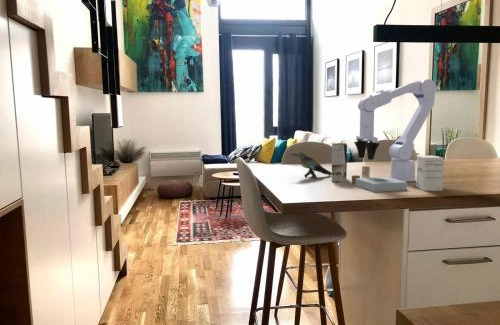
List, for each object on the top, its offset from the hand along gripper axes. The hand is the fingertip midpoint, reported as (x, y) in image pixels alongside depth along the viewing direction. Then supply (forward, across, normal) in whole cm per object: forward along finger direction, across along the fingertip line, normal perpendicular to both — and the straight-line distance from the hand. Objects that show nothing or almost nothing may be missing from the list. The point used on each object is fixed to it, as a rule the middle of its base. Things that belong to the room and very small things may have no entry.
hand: (366, 158), depth 178 cm
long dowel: (+10, 0, 0) cm, 10 cm away
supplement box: (+10, +23, +14) cm, 29 cm away
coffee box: (+10, -7, -9) cm, 15 cm away
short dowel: (+10, +4, -7) cm, 13 cm away
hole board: (+10, +15, -2) cm, 18 cm away
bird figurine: (+10, -18, -17) cm, 27 cm away
